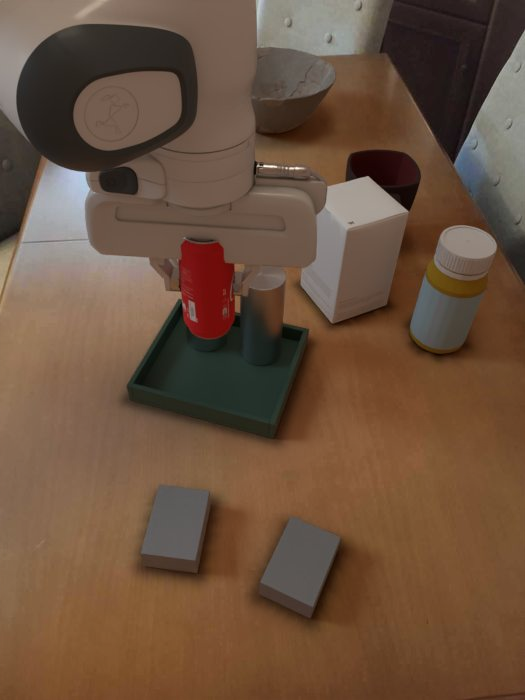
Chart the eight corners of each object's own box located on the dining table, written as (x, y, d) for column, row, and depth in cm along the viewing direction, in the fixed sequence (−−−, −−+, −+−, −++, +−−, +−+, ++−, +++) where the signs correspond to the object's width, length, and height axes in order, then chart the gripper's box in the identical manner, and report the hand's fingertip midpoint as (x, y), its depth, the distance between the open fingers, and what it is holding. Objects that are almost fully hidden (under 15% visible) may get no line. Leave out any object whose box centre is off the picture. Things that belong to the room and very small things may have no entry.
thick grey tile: (143, 566, 55) (140, 553, 53) (161, 498, 60) (159, 484, 58) (197, 573, 55) (195, 560, 53) (211, 504, 60) (209, 490, 58)
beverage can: (191, 303, 63) (183, 206, 54) (239, 309, 63) (239, 213, 54) (178, 338, 60) (168, 240, 51) (229, 345, 59) (227, 247, 51)
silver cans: (180, 346, 73) (172, 270, 65) (195, 319, 77) (189, 243, 68) (274, 369, 71) (279, 294, 62) (285, 341, 74) (291, 265, 66)
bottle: (451, 364, 73) (489, 269, 62) (399, 341, 76) (426, 246, 65) (471, 331, 77) (509, 236, 66) (421, 310, 80) (449, 215, 69)
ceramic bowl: (350, 115, 118) (357, 63, 111) (293, 166, 104) (297, 110, 97) (254, 88, 125) (255, 37, 118) (189, 132, 112) (186, 77, 104)
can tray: (129, 400, 68) (126, 385, 66) (180, 313, 78) (178, 298, 76) (273, 439, 65) (274, 425, 63) (307, 343, 75) (309, 328, 73)
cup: (394, 219, 94) (410, 148, 85) (416, 276, 85) (436, 203, 76) (332, 220, 94) (342, 149, 85) (347, 278, 84) (360, 205, 75)
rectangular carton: (389, 306, 80) (412, 211, 69) (331, 326, 77) (347, 230, 66) (352, 267, 86) (369, 173, 75) (298, 284, 83) (307, 189, 72)
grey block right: (258, 594, 54) (259, 582, 52) (289, 528, 58) (291, 515, 56) (310, 619, 52) (313, 607, 50) (337, 550, 57) (341, 537, 55)
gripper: (330, 147, 50) (315, 275, 60) (86, 132, 50) (112, 262, 60) (330, 189, 45) (314, 319, 55) (64, 172, 46) (96, 304, 56)
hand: (207, 289), depth 58 cm, fingers closed on beverage can, 5 cm apart
